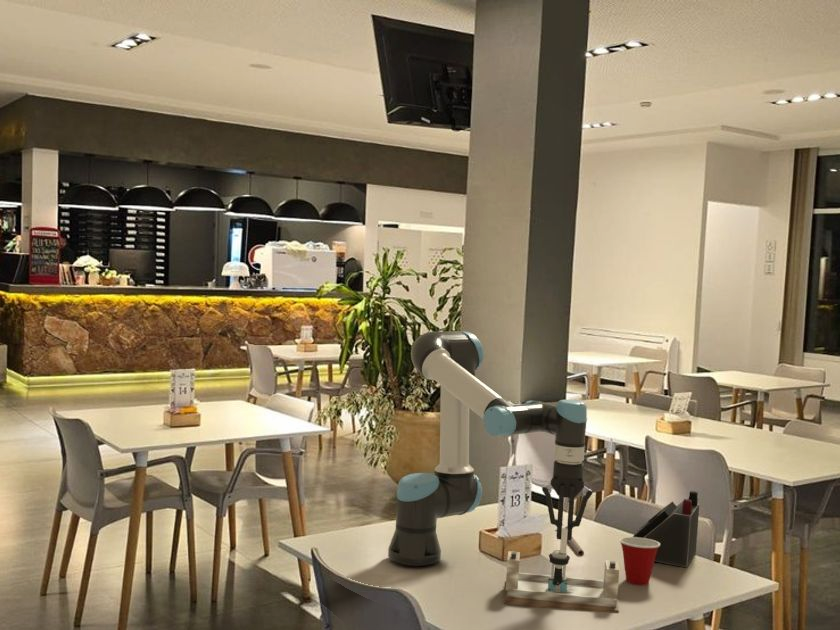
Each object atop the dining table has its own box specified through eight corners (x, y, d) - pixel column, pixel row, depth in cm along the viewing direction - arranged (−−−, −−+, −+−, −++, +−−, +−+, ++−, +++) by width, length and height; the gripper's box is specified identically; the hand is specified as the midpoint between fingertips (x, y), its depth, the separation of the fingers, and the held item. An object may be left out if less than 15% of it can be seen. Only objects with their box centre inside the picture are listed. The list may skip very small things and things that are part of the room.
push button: (572, 588, 233) (574, 550, 233) (573, 595, 228) (575, 557, 228) (546, 585, 234) (548, 548, 234) (547, 593, 229) (549, 554, 228)
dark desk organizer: (640, 546, 278) (645, 482, 276) (695, 556, 270) (700, 491, 269) (629, 561, 263) (633, 493, 262) (686, 572, 256) (691, 503, 255)
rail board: (504, 603, 225) (506, 561, 224) (507, 580, 241) (509, 540, 241) (618, 615, 221) (621, 572, 220) (613, 590, 238) (615, 550, 237)
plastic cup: (653, 578, 249) (656, 535, 249) (661, 592, 239) (664, 547, 238) (614, 575, 250) (616, 532, 249) (619, 589, 239) (622, 544, 239)
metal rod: (577, 556, 266) (577, 549, 266) (557, 528, 293) (557, 522, 293) (583, 556, 266) (584, 549, 266) (562, 529, 293) (563, 522, 293)
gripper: (543, 462, 226) (537, 554, 228) (595, 466, 225) (589, 558, 226) (543, 456, 234) (537, 545, 235) (593, 460, 232) (588, 549, 233)
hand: (563, 551), depth 230 cm, fingers closed
